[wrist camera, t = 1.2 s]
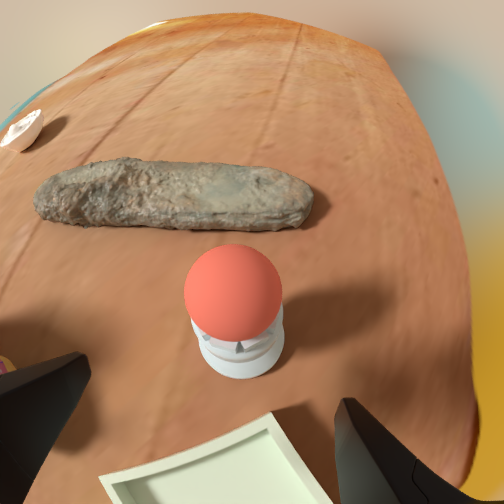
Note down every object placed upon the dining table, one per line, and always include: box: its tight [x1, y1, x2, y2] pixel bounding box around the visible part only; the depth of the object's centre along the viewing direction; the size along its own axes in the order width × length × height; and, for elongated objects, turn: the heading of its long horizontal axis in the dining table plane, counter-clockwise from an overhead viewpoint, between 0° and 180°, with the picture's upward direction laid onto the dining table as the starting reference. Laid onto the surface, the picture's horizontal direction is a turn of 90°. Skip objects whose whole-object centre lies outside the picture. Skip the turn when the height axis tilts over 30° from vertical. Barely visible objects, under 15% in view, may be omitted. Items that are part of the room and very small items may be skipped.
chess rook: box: [191, 301, 284, 380], centre depth 18 cm, size 6×6×8 cm
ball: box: [184, 244, 282, 342], centre depth 13 cm, size 5×5×5 cm
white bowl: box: [0, 109, 44, 152], centre depth 37 cm, size 10×12×7 cm
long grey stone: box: [33, 157, 314, 231], centre depth 27 cm, size 35×5×10 cm
